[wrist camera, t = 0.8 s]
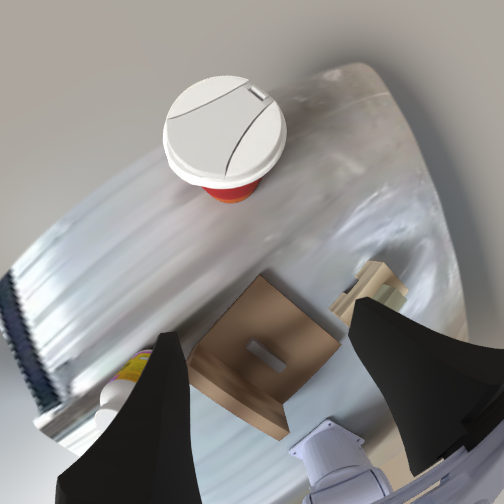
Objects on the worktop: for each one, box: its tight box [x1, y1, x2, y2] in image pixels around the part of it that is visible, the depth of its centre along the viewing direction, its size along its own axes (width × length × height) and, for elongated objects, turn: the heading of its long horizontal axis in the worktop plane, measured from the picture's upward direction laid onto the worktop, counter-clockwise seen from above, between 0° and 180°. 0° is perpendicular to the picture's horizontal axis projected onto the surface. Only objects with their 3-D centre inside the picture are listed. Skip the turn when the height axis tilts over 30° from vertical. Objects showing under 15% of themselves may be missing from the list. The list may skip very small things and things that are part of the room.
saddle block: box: [329, 260, 409, 328], centre depth 28 cm, size 5×8×7 cm, turn 139°
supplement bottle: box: [95, 350, 152, 434], centre depth 24 cm, size 7×7×13 cm
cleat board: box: [186, 274, 341, 441], centre depth 27 cm, size 13×12×7 cm
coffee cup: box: [163, 76, 287, 203], centre depth 23 cm, size 8×8×15 cm
